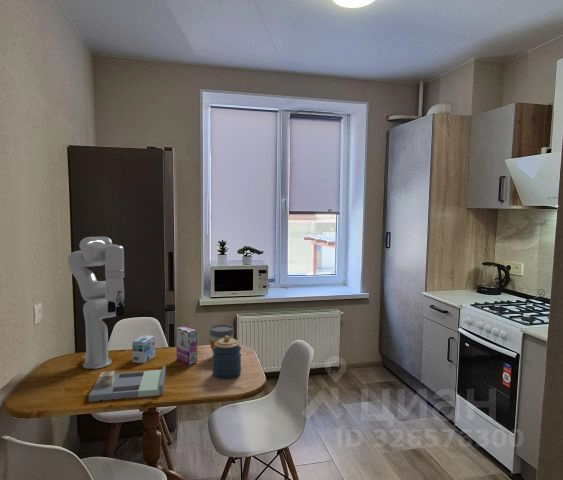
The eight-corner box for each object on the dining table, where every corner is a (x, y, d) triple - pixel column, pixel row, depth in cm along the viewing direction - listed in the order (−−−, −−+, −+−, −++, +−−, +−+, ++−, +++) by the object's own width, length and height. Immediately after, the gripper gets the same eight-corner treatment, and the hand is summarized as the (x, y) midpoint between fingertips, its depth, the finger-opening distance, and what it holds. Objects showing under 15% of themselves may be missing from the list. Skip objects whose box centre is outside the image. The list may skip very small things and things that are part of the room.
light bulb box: (144, 363, 188) (144, 342, 187) (131, 362, 189) (131, 341, 188) (155, 356, 198) (155, 335, 198) (143, 355, 199) (143, 334, 199)
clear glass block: (99, 386, 156) (98, 376, 156) (101, 381, 161) (101, 371, 161) (112, 385, 158) (112, 375, 157) (114, 380, 162) (114, 370, 162)
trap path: (88, 401, 149) (88, 391, 148) (100, 379, 169) (100, 371, 168) (162, 395, 155) (162, 385, 155) (165, 374, 175) (165, 366, 175)
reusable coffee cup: (234, 352, 205) (234, 324, 204) (233, 361, 192) (233, 331, 191) (210, 352, 204) (210, 324, 203) (207, 361, 191) (207, 331, 190)
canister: (216, 381, 168) (216, 341, 167) (209, 370, 180) (209, 333, 179) (244, 376, 173) (245, 338, 172) (236, 366, 185) (236, 330, 184)
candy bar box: (197, 363, 189) (197, 330, 188) (188, 365, 185) (188, 332, 185) (184, 357, 197) (184, 325, 196) (176, 360, 193) (175, 327, 192)
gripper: (98, 273, 169) (99, 312, 170) (113, 277, 157) (114, 318, 157) (116, 271, 174) (117, 309, 175) (131, 275, 162) (132, 315, 162)
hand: (115, 313), depth 166 cm, fingers open, 9 cm apart
